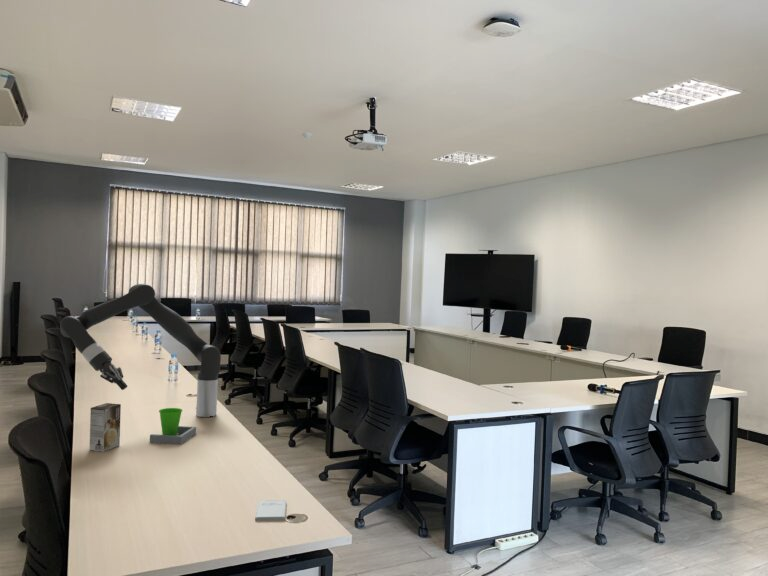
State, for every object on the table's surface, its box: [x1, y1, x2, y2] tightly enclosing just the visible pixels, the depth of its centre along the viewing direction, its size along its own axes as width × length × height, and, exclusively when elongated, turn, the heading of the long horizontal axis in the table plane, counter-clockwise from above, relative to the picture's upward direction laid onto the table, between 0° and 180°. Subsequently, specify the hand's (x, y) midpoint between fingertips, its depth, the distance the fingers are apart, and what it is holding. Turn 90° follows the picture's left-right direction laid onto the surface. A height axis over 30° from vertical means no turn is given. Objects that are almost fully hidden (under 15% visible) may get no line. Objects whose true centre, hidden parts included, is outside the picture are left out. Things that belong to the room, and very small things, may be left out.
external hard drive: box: [254, 499, 287, 522], centre depth 167 cm, size 2×8×12 cm
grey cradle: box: [149, 425, 197, 445], centre depth 235 cm, size 15×13×3 cm
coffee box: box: [88, 402, 122, 453], centre depth 218 cm, size 9×6×16 cm
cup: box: [158, 407, 183, 436], centre depth 236 cm, size 9×9×11 cm
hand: (125, 388), depth 236 cm, fingers closed
